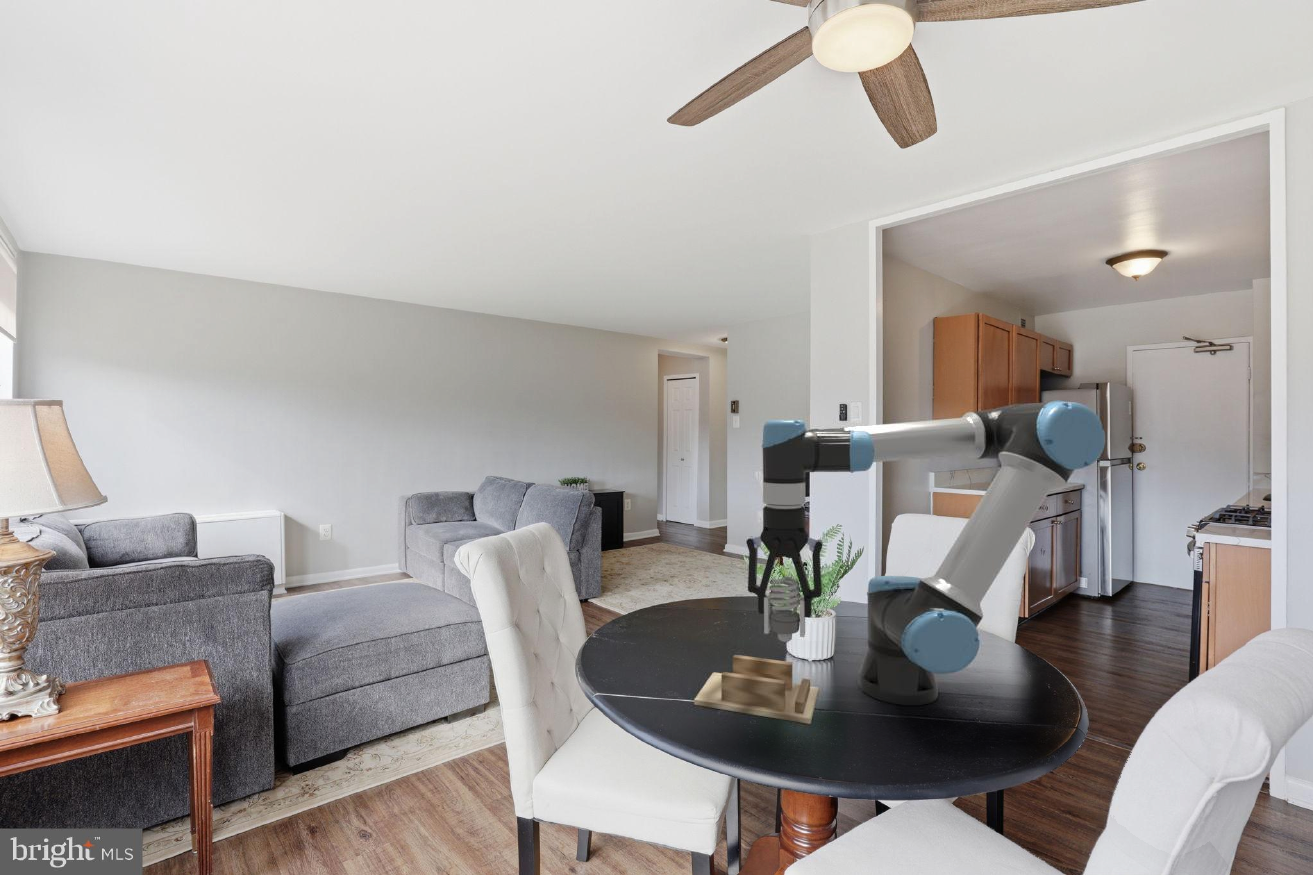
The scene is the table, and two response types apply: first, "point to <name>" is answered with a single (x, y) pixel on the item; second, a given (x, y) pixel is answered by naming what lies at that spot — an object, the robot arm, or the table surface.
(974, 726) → the table surface
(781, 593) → the light bulb
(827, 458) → the robot arm
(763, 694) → the u rest
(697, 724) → the table surface
